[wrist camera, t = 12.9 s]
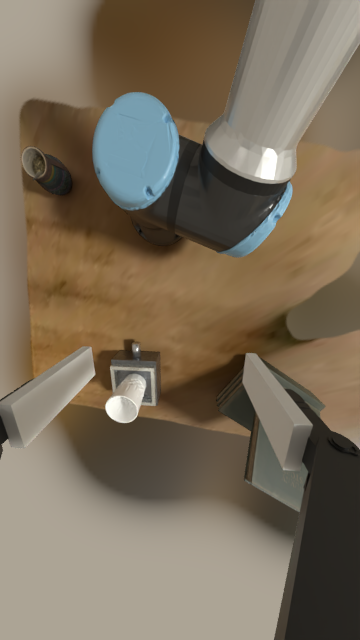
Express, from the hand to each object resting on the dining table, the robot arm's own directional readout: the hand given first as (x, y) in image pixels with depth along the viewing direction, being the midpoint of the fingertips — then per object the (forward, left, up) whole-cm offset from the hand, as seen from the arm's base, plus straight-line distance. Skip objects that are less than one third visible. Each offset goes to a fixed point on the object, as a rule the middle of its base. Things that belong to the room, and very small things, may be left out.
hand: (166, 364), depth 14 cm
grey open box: (+22, -14, -35) cm, 43 cm away
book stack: (+30, +26, -35) cm, 53 cm away
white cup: (+24, -14, -29) cm, 40 cm away
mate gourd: (-29, -31, -35) cm, 55 cm away
